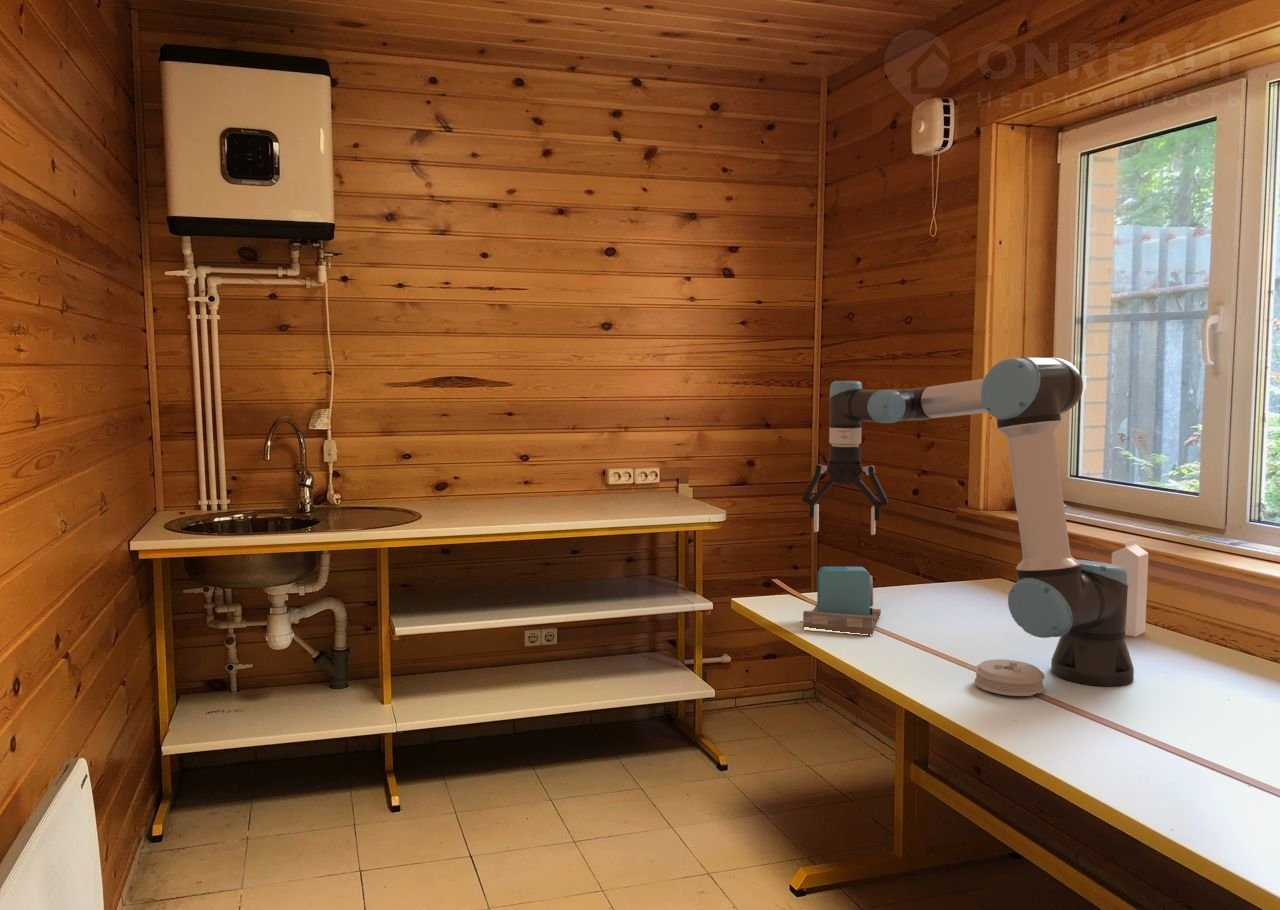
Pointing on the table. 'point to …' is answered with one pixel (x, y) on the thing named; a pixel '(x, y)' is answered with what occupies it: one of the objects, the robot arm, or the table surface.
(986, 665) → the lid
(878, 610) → the brown tray
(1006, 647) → the table surface
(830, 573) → the teal rounded flat block
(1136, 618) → the milk
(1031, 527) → the robot arm
